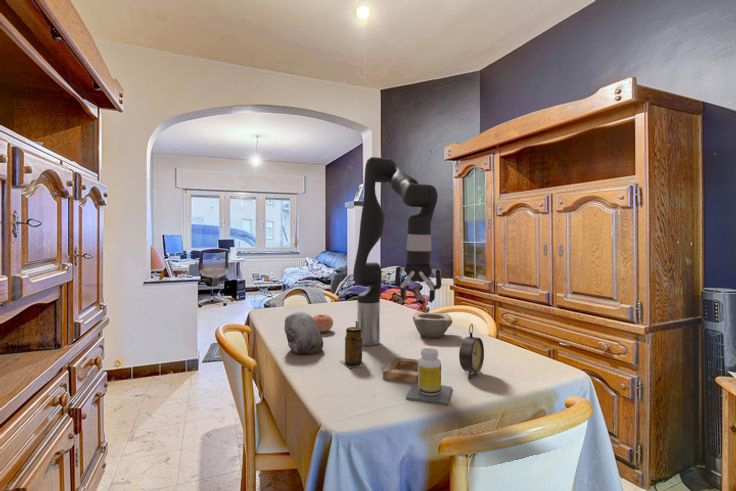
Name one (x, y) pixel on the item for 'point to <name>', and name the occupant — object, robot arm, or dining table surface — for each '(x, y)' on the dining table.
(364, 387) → the dining table surface
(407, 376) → the wooden square frame
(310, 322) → the stone
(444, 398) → the slate coaster
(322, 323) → the tomato
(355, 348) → the condiment
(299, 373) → the dining table surface
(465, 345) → the alarm clock
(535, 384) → the dining table surface
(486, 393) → the dining table surface
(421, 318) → the mortar
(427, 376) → the pill bottle
